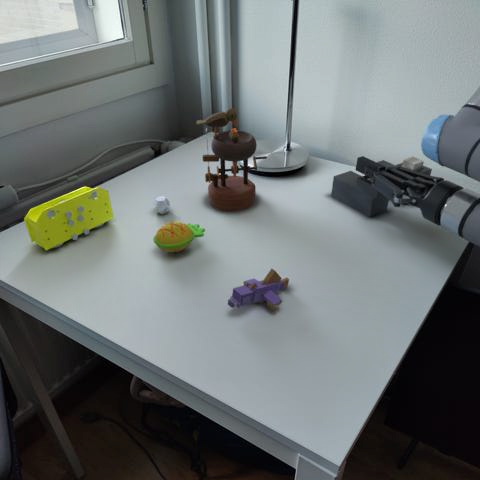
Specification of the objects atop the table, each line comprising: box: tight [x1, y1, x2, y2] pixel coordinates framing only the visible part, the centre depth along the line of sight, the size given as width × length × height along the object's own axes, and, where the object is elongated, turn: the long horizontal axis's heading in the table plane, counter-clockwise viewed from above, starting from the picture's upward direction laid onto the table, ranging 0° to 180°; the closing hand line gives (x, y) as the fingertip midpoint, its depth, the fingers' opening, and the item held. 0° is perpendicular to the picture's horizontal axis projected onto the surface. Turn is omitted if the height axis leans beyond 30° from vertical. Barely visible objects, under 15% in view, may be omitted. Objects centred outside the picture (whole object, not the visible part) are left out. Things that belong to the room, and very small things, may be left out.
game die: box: [152, 195, 171, 215], centre depth 99 cm, size 4×4×3 cm
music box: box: [195, 107, 268, 212], centre depth 98 cm, size 15×11×20 cm
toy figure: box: [227, 268, 290, 311], centre depth 75 cm, size 12×8×5 cm
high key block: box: [330, 170, 390, 218], centre depth 99 cm, size 13×6×7 cm, turn 34°
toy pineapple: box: [152, 221, 206, 253], centre depth 87 cm, size 7×10×5 cm
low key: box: [402, 156, 425, 171], centre depth 99 cm, size 3×3×2 cm
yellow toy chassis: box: [23, 186, 115, 251], centre depth 90 cm, size 16×6×8 cm, turn 140°
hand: (359, 163), depth 97 cm, fingers closed
